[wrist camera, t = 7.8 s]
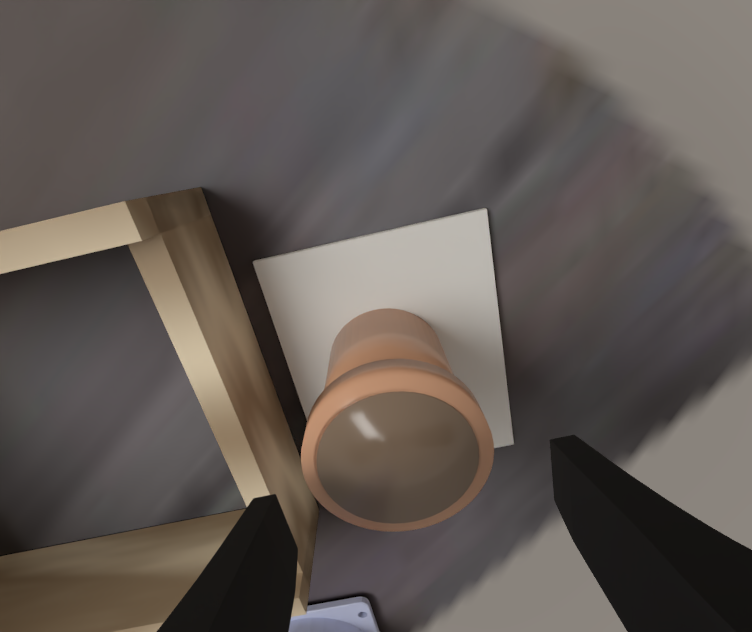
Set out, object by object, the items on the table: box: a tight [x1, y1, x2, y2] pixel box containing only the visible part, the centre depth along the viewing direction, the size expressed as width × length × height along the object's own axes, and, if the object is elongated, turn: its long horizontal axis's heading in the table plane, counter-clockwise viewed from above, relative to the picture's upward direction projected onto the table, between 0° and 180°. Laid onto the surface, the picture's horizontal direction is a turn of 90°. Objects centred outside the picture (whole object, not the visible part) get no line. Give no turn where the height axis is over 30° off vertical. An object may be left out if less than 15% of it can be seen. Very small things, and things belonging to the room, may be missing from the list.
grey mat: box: [253, 208, 514, 448], centre depth 17 cm, size 11×9×1 cm
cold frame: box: [0, 187, 319, 632], centre depth 15 cm, size 16×18×6 cm
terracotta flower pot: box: [301, 308, 494, 532], centre depth 14 cm, size 6×6×6 cm
